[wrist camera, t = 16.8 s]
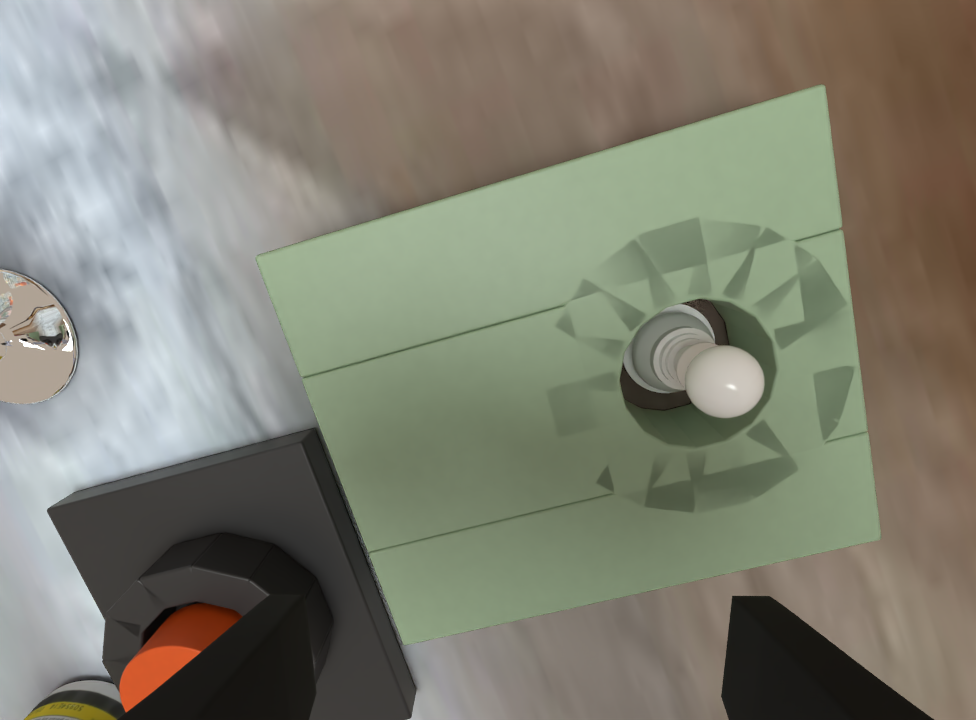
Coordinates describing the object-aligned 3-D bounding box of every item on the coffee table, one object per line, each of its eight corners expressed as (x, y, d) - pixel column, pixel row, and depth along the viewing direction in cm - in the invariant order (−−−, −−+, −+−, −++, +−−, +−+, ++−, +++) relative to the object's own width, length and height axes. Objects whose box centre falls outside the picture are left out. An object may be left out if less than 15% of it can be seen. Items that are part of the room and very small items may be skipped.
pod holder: (819, 488, 17) (883, 540, 15) (418, 582, 19) (403, 647, 16) (762, 111, 15) (826, 81, 12) (298, 251, 16) (252, 255, 13)
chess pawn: (602, 338, 16) (643, 385, 12) (679, 282, 16) (757, 306, 11) (653, 407, 17) (713, 479, 12) (729, 355, 16) (825, 408, 12)
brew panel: (417, 691, 20) (402, 770, 17) (200, 737, 21) (150, 820, 18) (315, 427, 17) (277, 467, 14) (73, 492, 18) (-8, 541, 15)
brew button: (288, 685, 17) (264, 736, 15) (185, 707, 17) (151, 760, 15) (245, 590, 16) (215, 634, 14) (139, 616, 16) (96, 661, 15)
